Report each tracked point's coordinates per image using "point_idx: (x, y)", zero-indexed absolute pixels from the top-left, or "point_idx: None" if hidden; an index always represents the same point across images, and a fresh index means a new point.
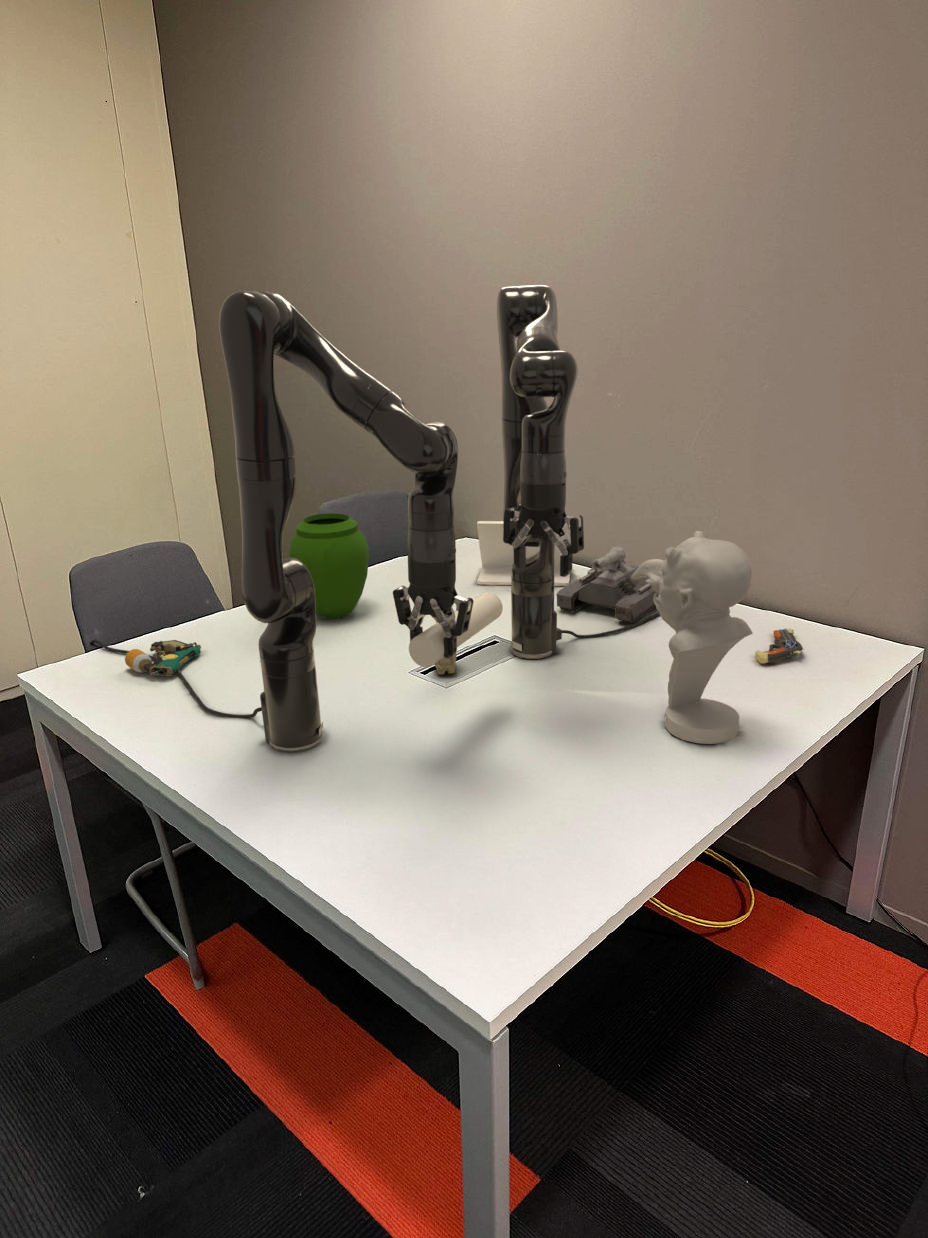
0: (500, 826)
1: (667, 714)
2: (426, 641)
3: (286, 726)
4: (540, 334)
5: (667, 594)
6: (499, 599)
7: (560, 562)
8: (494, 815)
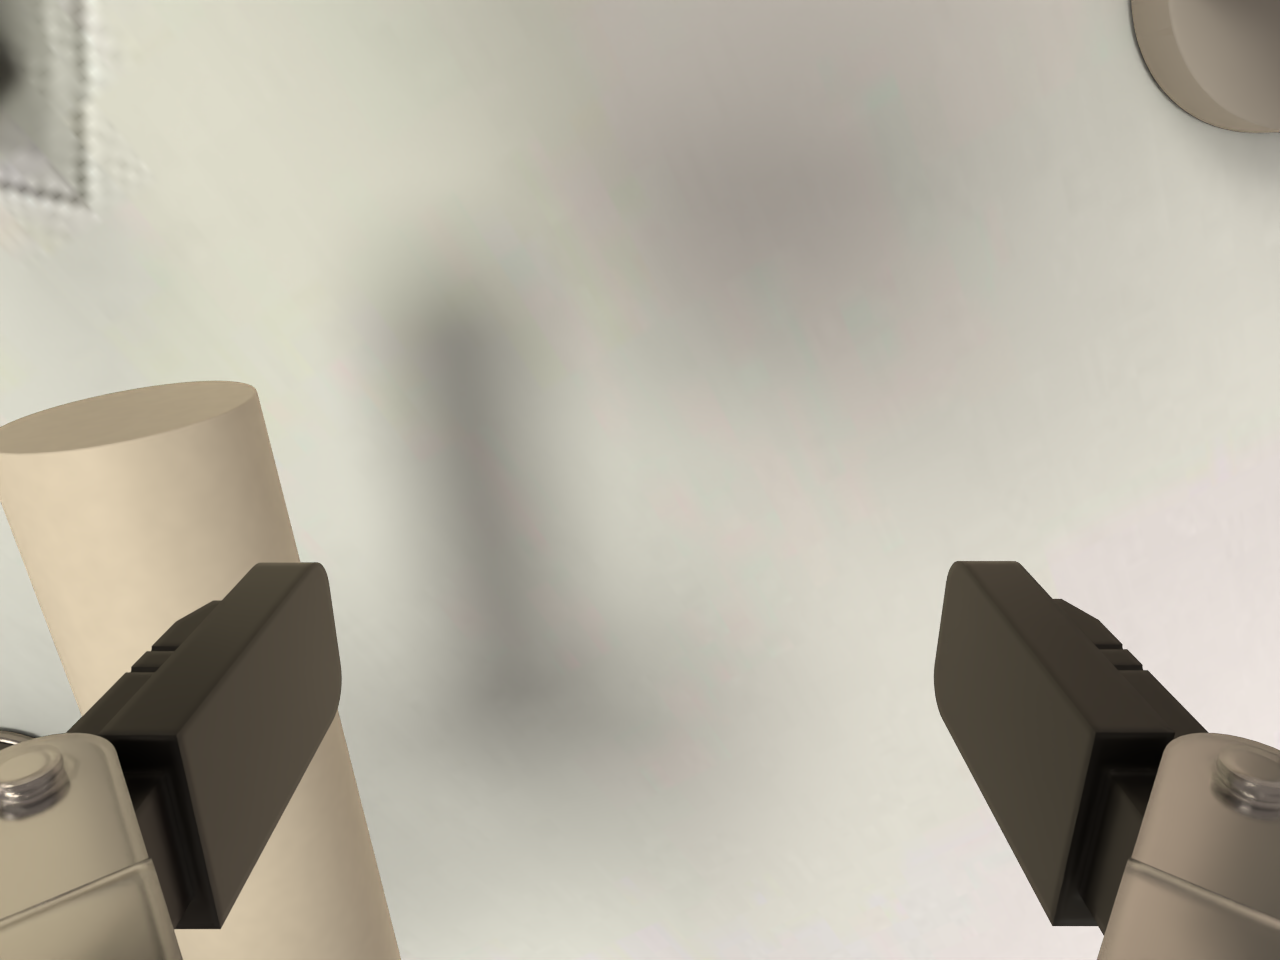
0: (821, 850)
1: (1183, 47)
2: None
3: None
4: None
5: None
6: (189, 435)
7: (1012, 840)
8: (783, 822)
